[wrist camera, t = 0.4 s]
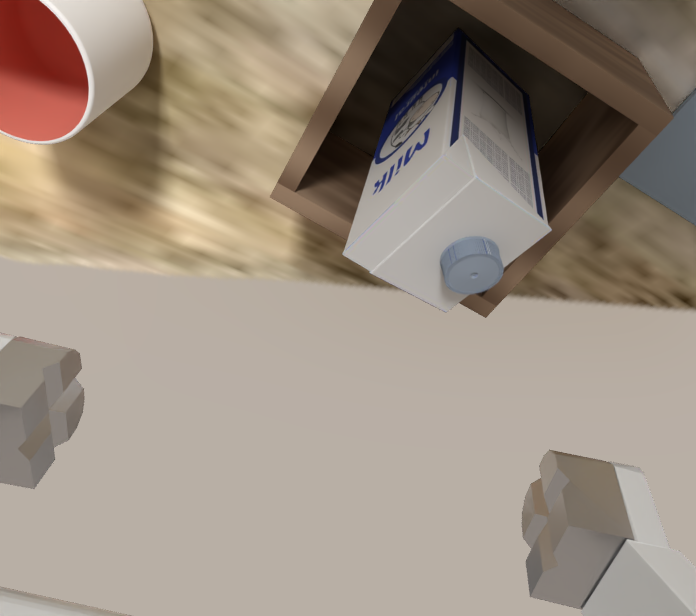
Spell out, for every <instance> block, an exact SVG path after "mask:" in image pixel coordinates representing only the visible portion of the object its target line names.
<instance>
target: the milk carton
mask: <svg viewBox="0 0 696 616" xmlns="http://www.w3.org/2000/svg"><path fill="white" fill-rule="evenodd" d="M551 230H552V229H551V228H550V226H549V225H548V221H547V214H546V207H545V200H544V194H543V187H542V180H541V173H540V167H539V160H538V153H537V146H536V139H535V133H534V126H533V119H532V112H531V106H530V99H529V95H528V94H527V93H526V92H525V91H524V90H523V89H522V88H521V87H519V86H518V85H517V84H516V83H515V82H514V81H513V80H512V79H511V78H510V77H509V76H508V75H507V74H506V73H505V72H504V71H503V70H502V69H501V68H500V67H499V66H498V65H497V64H496V63H495V62H494V61H493V60H491V59H490V58H489V57H488V56H487V55H486V54H485V53H484V52H483V51H482V50H481V49H480V48H479V47H478V46H477V45H476V44H475V43H474V42H473V41H472V40H471V39H470V38H469V37H468V36H467V35H466V34H465V33H463V32H462V31H461V30H460V29H459V28H457V29H456V30H455V32H454V33H453V34H452V35H451V36H450V37H449V38H448V39H447V40H446V42H445V43H444V44H443V45H442V46H441V47H440V48H439V49H438V50H437V52H436V53H435V54H434V55H433V56H432V57H431V58H430V59H429V61H428V62H427V63H426V64H425V65H424V66H423V67H422V68H421V69H420V71H419V72H418V73H417V74H416V75H415V76H414V77H413V78H412V80H411V81H410V82H409V83H408V84H407V85H406V86H405V87H404V88H403V90H402V91H401V92H400V93H399V94H398V95H397V96H396V97H395V98H394V100H393V101H392V102H391V104H390V107H389V110H388V114H387V117H386V120H385V123H384V126H383V129H382V133H381V136H380V139H379V142H378V145H377V148H376V151H375V155H374V158H373V161H372V164H371V167H370V170H369V173H368V177H367V180H366V183H365V186H364V189H363V192H362V196H361V199H360V202H359V205H358V208H357V211H356V214H355V218H354V221H353V224H352V227H351V230H350V233H349V236H348V240H347V243H346V246H345V249H344V252H343V253H342V255H344V256H345V257H347V258H349V259H350V260H352V261H354V262H355V263H357V264H359V265H360V266H362V267H364V268H366V269H367V270H369V271H370V274H372V275H374V276H376V277H378V278H380V279H382V280H384V281H386V282H388V283H390V284H392V285H394V286H395V287H397V288H399V289H401V290H403V291H405V292H407V293H409V294H411V295H413V296H415V297H417V298H419V299H421V300H423V301H425V302H426V303H428V304H430V305H432V306H434V307H436V308H438V309H440V310H442V311H444V312H448V311H449V310H450V309H452V308H453V307H454V306H455V305H457V304H458V303H459V302H461V301H462V300H463V299H464V298H466V297H467V296H468V295H470V294H471V295H472V294H473V295H474V293H475V294H476V293H477V294H478V293H479V292H481V293H482V291H485V290H487V289H488V290H489V288H490V287H492V286H493V287H494V285H495V284H497V283H498V282H499V280H500V279H501V278H502V276H503V272H504V271H503V270H504V267H505V266H507V265H508V264H509V263H511V262H512V261H513V260H514V259H516V258H517V257H518V256H520V255H521V254H522V253H523V252H525V251H526V250H527V249H529V248H530V247H531V246H532V245H534V244H535V243H536V242H538V241H539V240H540V239H541V238H543V237H544V236H545V235H547V234H548V233H549V232H550V231H551ZM490 289H491V288H490Z"/></svg>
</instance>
